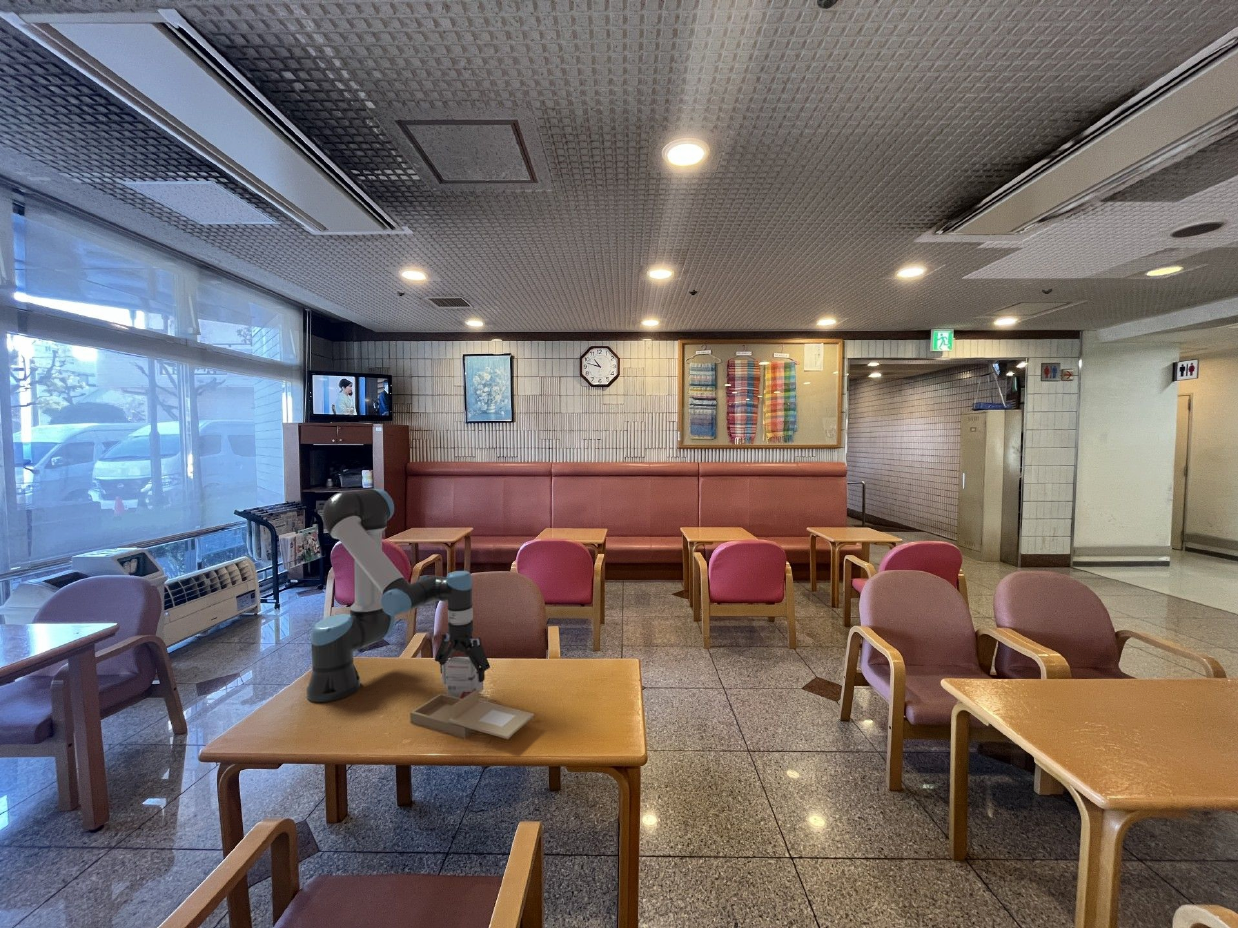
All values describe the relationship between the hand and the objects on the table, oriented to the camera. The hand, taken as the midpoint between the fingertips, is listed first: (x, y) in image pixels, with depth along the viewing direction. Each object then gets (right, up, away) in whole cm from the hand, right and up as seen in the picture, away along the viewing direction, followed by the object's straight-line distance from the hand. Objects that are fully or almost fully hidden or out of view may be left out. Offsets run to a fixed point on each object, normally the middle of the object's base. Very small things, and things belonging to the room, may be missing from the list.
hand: (462, 687), depth 157 cm
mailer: (+1, -3, -14) cm, 14 cm away
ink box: (0, -3, 0) cm, 3 cm away
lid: (+14, 0, -20) cm, 24 cm away
